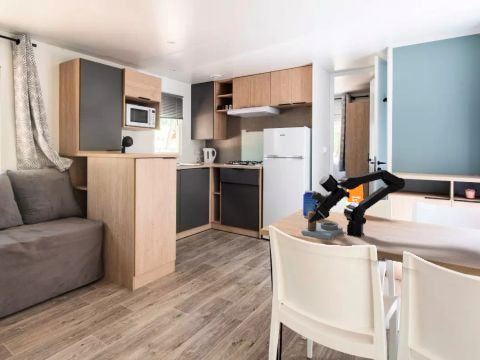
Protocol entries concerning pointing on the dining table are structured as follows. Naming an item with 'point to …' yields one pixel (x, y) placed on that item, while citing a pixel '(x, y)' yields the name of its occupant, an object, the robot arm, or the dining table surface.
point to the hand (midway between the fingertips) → (309, 219)
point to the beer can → (308, 203)
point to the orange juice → (355, 195)
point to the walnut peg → (312, 225)
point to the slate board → (324, 230)
